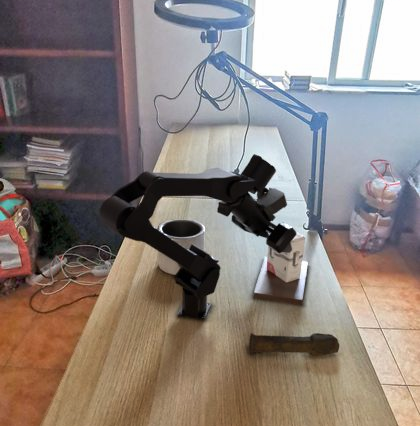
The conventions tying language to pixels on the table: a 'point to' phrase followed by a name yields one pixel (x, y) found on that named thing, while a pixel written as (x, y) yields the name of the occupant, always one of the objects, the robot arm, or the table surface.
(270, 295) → the walnut board
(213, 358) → the table surface
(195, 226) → the planter
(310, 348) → the hand tool
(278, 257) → the ink box
